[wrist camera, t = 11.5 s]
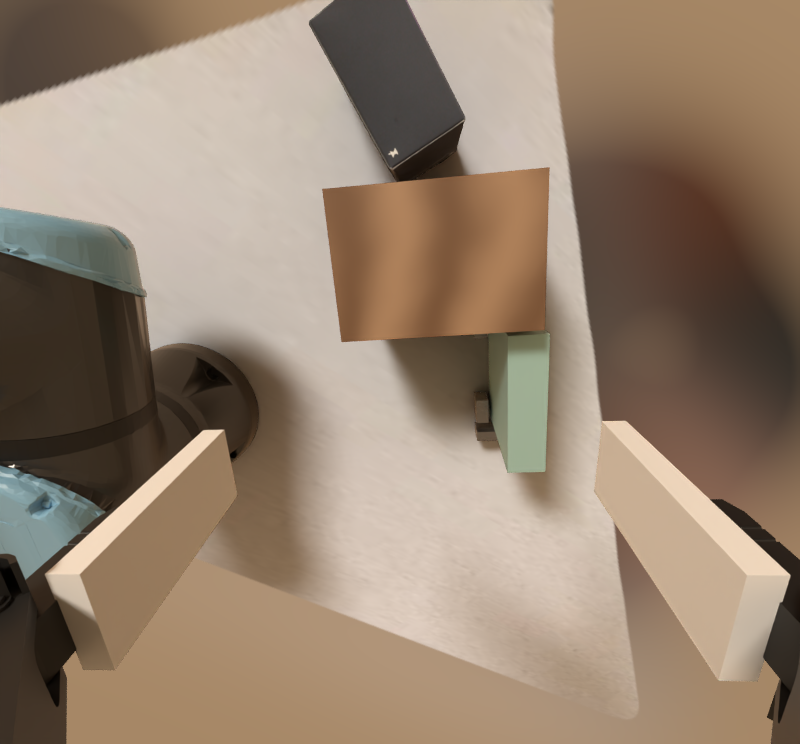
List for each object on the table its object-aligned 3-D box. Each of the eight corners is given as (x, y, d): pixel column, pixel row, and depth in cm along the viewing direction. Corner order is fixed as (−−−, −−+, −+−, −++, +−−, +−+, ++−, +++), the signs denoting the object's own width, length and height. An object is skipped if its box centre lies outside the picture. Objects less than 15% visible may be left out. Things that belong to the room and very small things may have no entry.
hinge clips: (475, 430, 46) (477, 440, 44) (471, 308, 42) (474, 313, 40) (534, 428, 46) (539, 438, 43) (537, 304, 41) (543, 308, 39)
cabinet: (370, 308, 43) (341, 342, 30) (359, 203, 40) (322, 189, 26) (509, 298, 41) (544, 330, 28) (509, 189, 38) (549, 167, 25)
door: (489, 412, 46) (507, 472, 34) (488, 307, 42) (507, 336, 31) (517, 411, 45) (545, 471, 34) (518, 306, 42) (550, 333, 30)
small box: (462, 149, 38) (472, 119, 28) (400, 190, 39) (389, 176, 29) (401, 30, 35) (388, -50, 25) (338, 79, 37) (302, 22, 27)
